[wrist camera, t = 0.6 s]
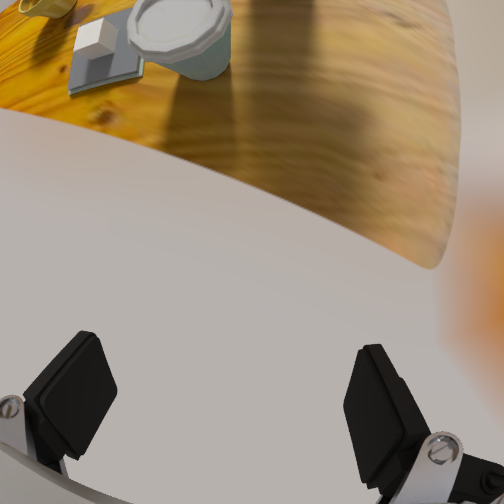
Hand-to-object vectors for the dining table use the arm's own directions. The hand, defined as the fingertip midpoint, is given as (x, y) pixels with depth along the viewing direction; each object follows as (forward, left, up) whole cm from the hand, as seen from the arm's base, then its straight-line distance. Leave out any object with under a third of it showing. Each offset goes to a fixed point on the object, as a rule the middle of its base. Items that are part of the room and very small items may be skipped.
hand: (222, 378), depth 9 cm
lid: (-28, -23, -29) cm, 47 cm away
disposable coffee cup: (-22, -7, -29) cm, 38 cm away
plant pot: (-44, -37, -29) cm, 65 cm away
